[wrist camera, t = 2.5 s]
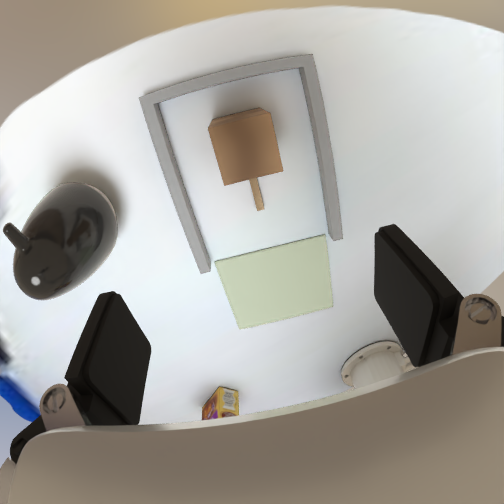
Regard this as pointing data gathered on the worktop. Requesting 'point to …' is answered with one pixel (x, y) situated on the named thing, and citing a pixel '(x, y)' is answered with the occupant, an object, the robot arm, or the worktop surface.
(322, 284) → the mat
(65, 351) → the worktop surface
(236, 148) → the walnut block
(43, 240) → the dark grey tall ovoid
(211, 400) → the candy box
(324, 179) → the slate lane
